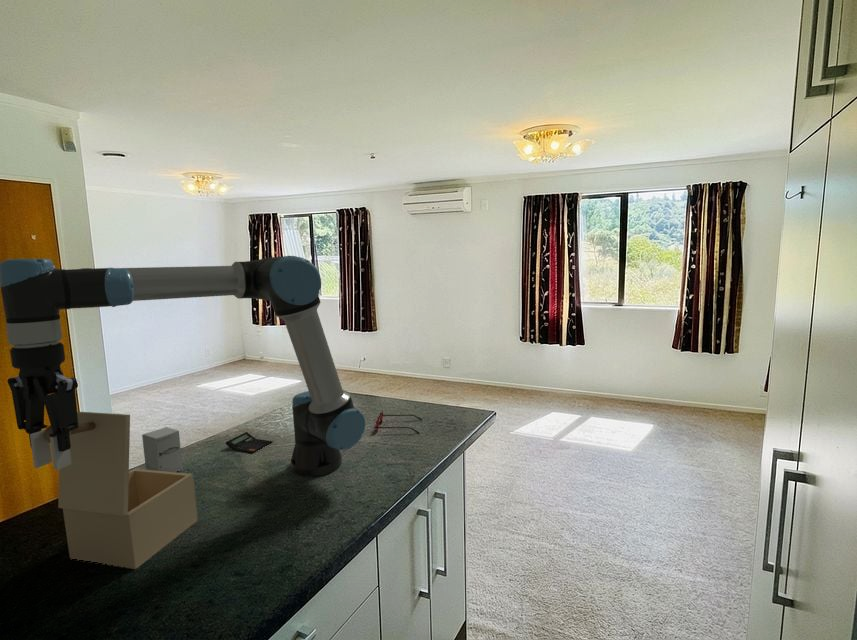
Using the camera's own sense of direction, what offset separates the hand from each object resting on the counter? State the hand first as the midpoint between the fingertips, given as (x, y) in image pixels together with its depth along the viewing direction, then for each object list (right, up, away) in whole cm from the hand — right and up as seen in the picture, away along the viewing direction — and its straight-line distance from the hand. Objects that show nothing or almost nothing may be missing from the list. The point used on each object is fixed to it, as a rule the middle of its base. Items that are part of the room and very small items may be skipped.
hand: (53, 465), depth 87 cm
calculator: (+10, -16, +70) cm, 73 cm away
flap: (+2, -2, +8) cm, 9 cm away
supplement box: (-9, -19, +52) cm, 56 cm away
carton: (+4, -23, +19) cm, 29 cm away
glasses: (+60, -13, +84) cm, 104 cm away
